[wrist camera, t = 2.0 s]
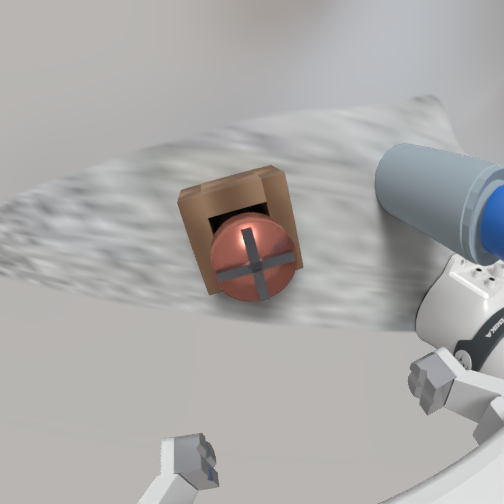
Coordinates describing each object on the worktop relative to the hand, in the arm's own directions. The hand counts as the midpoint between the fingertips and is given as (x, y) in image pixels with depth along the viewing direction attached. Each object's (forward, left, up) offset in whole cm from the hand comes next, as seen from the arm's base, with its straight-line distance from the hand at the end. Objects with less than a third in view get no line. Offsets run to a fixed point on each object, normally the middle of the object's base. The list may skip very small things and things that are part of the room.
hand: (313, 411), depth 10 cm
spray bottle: (-20, +1, -23) cm, 31 cm away
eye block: (0, 0, -23) cm, 23 cm away
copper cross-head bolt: (0, 0, -23) cm, 23 cm away
